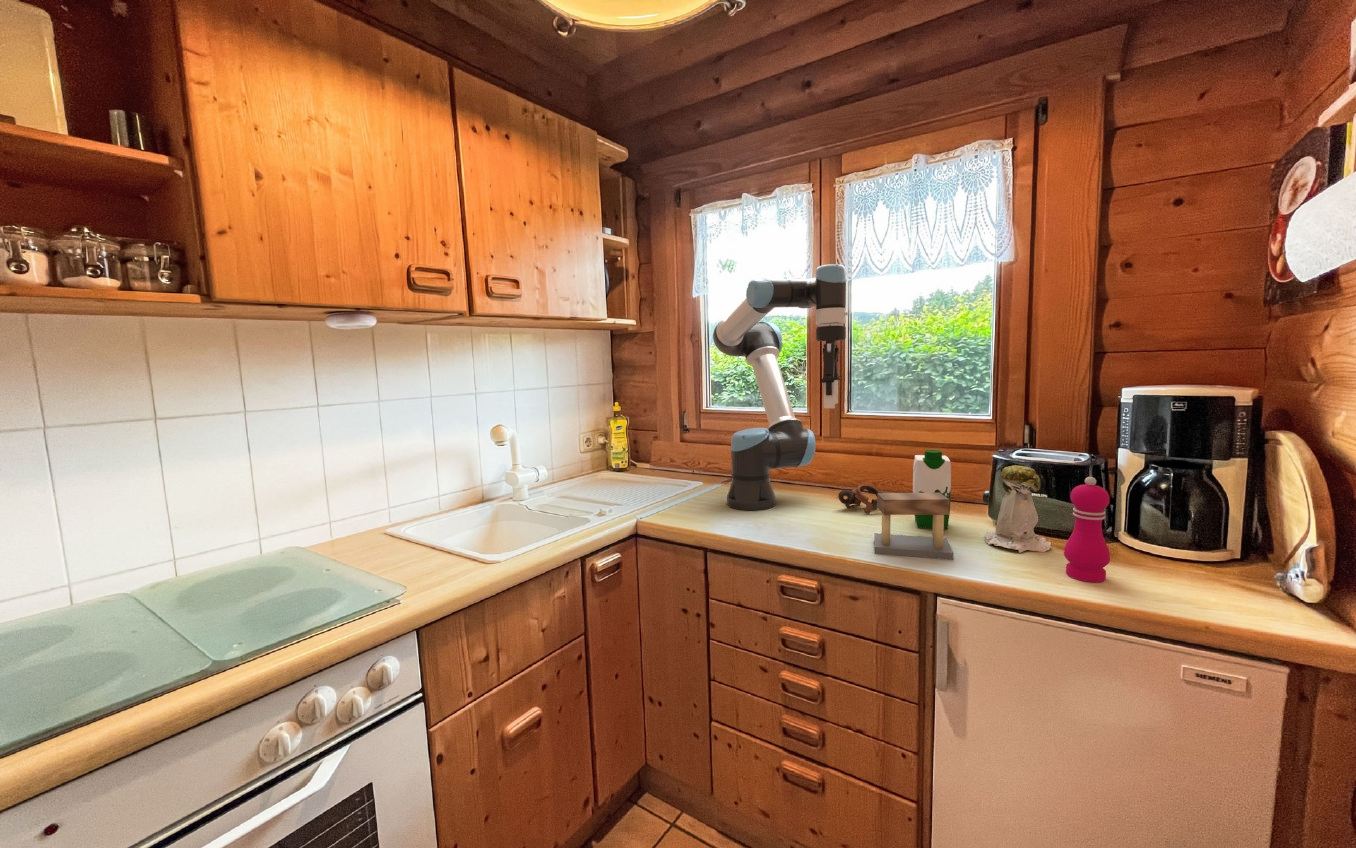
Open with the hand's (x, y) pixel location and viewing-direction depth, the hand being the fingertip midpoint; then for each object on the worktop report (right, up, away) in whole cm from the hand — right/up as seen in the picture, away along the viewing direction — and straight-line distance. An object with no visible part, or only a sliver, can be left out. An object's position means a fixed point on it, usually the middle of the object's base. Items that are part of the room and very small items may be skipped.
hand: (831, 405), depth 142 cm
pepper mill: (+39, -35, -38) cm, 65 cm away
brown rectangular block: (+13, -25, -21) cm, 35 cm away
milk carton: (+25, -32, -3) cm, 41 cm away
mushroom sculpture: (+38, -33, -19) cm, 54 cm away
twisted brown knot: (+12, -30, +13) cm, 35 cm away
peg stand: (+13, -34, -20) cm, 41 cm away
